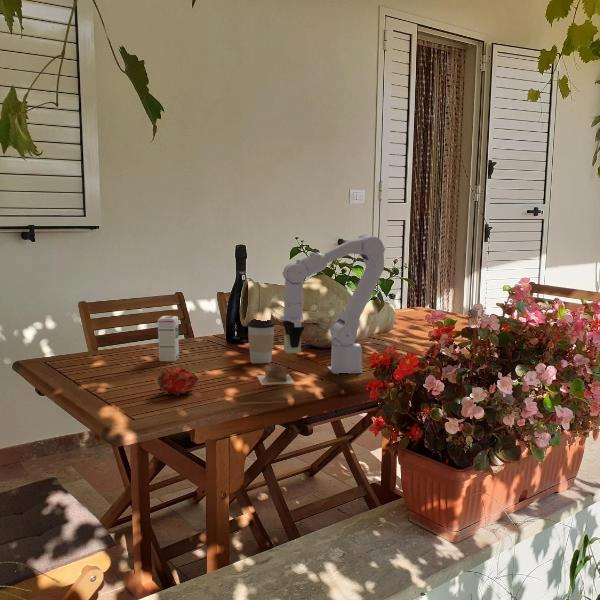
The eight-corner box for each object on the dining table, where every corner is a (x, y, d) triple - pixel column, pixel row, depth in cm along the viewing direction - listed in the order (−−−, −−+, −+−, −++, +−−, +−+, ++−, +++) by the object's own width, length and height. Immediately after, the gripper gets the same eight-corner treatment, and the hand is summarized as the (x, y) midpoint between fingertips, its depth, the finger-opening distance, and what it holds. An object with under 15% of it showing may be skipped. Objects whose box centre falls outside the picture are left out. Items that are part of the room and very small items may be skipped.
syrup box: (176, 361, 216) (175, 318, 214) (158, 361, 216) (157, 318, 214) (179, 357, 222) (179, 315, 220) (162, 357, 222) (161, 315, 220)
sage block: (297, 349, 206) (298, 333, 205) (300, 352, 202) (301, 336, 201) (283, 349, 205) (284, 334, 204) (286, 353, 201) (286, 337, 200)
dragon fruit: (153, 401, 180) (194, 401, 185) (163, 390, 173) (205, 391, 179) (151, 372, 183) (191, 374, 189) (160, 360, 177) (202, 362, 183)
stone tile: (288, 375, 202) (288, 374, 202) (295, 384, 192) (295, 383, 192) (256, 377, 200) (256, 375, 199) (261, 386, 190) (261, 384, 190)
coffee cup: (257, 357, 224) (257, 314, 222) (279, 361, 219) (280, 317, 217) (241, 362, 216) (242, 318, 214) (264, 366, 212) (264, 321, 209)
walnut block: (283, 376, 199) (283, 365, 198) (286, 381, 194) (286, 370, 193) (265, 377, 198) (265, 366, 197) (268, 382, 192) (268, 370, 192)
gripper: (276, 299, 207) (276, 340, 209) (285, 306, 193) (284, 351, 195) (298, 298, 209) (297, 340, 211) (308, 306, 195) (307, 350, 197)
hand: (292, 345), depth 203 cm, fingers closed on sage block, 4 cm apart
